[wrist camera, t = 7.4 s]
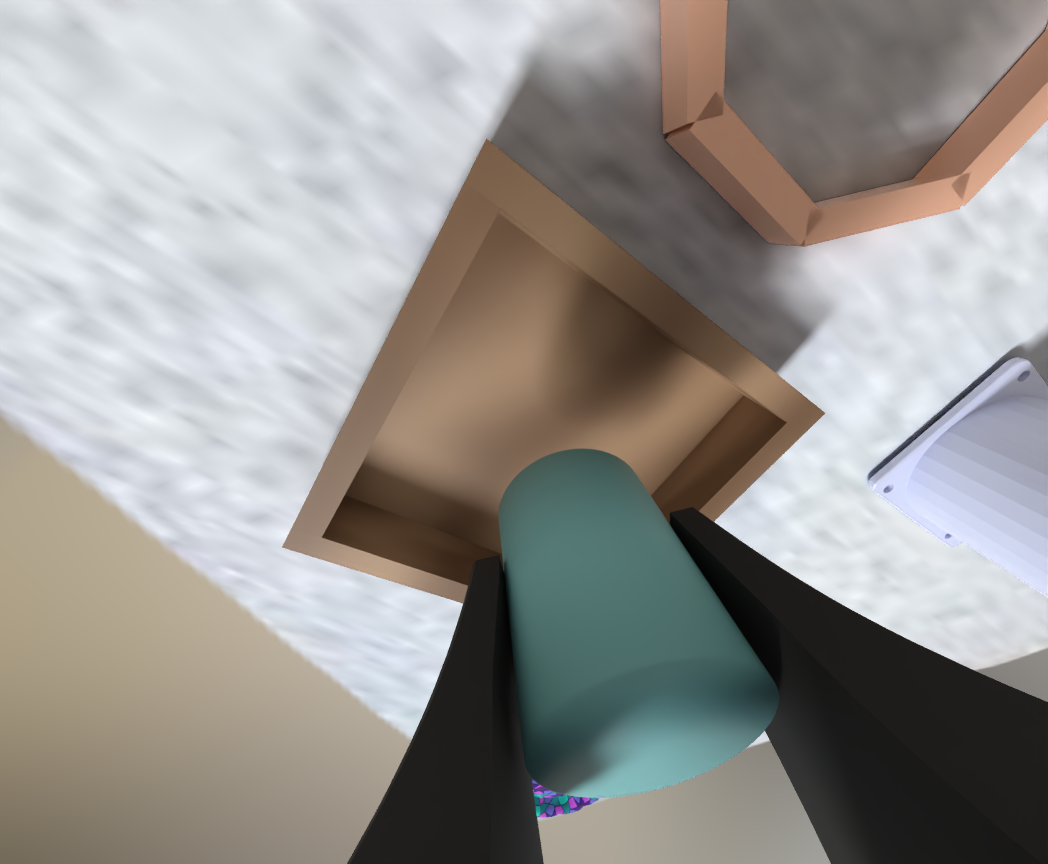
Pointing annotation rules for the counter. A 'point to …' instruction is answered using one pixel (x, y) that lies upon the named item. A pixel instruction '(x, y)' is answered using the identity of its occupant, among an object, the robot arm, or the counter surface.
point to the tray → (533, 390)
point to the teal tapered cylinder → (618, 636)
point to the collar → (764, 185)
